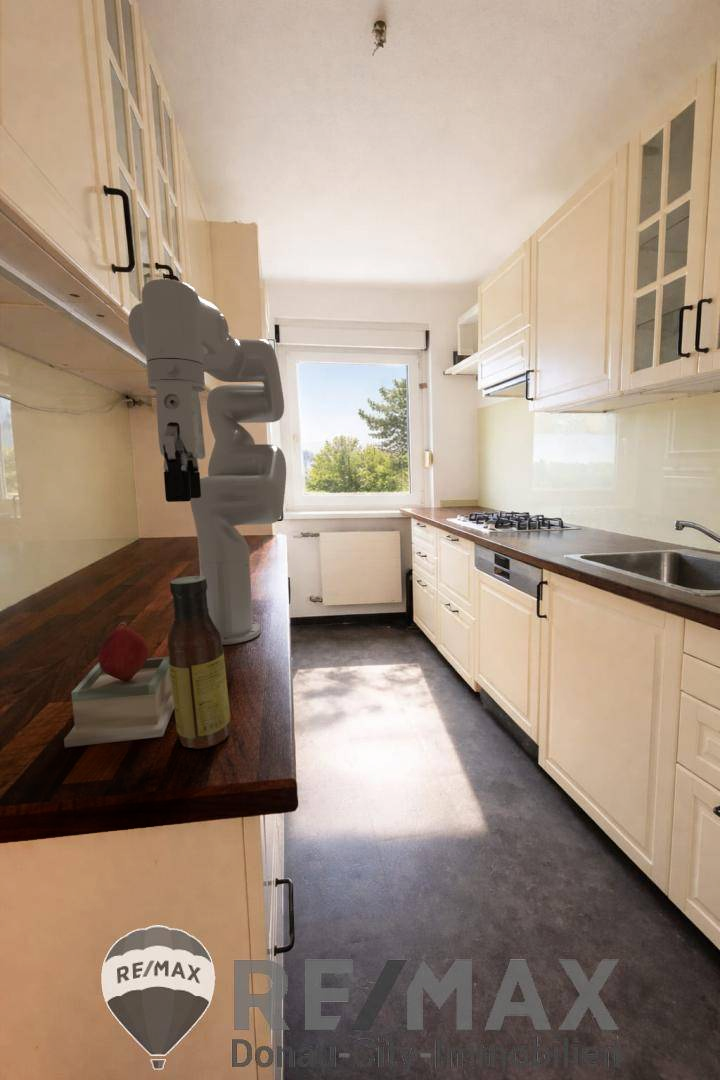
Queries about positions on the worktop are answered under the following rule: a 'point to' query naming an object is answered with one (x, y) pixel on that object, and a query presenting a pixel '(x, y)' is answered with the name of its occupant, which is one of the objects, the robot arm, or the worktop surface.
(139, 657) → the onion
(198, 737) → the sauce bottle
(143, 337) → the robot arm
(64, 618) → the worktop surface
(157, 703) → the open box
